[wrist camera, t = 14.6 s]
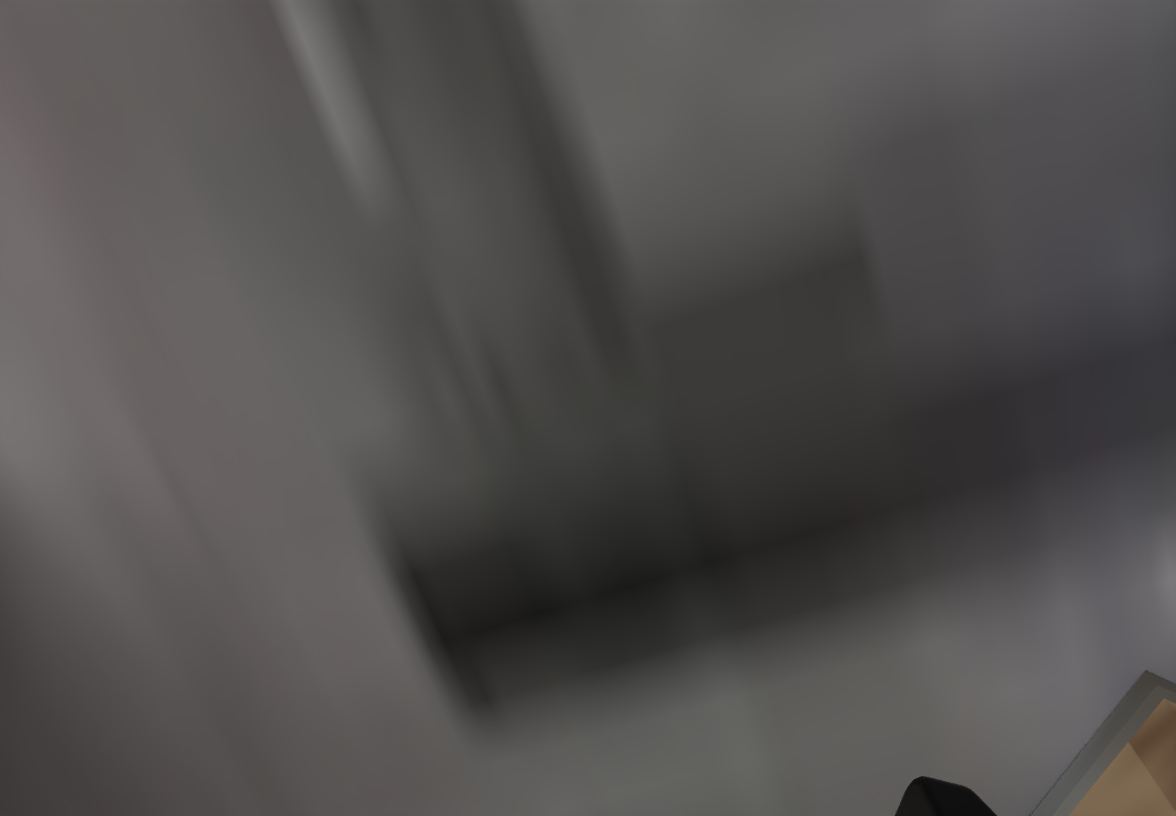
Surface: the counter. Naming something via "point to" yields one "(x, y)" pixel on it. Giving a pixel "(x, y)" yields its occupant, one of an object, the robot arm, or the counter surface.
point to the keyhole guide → (1125, 760)
